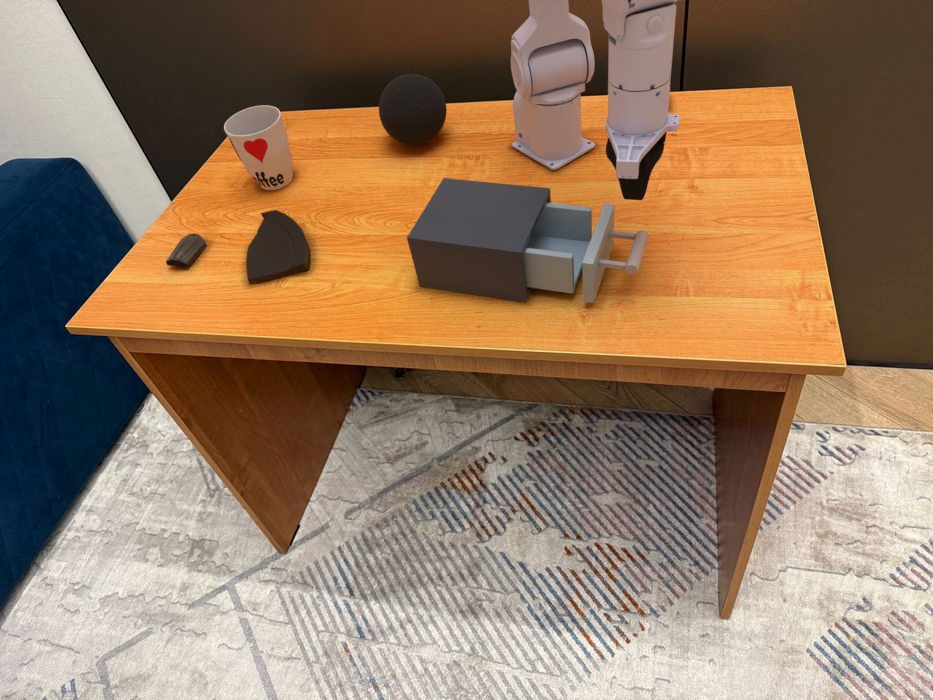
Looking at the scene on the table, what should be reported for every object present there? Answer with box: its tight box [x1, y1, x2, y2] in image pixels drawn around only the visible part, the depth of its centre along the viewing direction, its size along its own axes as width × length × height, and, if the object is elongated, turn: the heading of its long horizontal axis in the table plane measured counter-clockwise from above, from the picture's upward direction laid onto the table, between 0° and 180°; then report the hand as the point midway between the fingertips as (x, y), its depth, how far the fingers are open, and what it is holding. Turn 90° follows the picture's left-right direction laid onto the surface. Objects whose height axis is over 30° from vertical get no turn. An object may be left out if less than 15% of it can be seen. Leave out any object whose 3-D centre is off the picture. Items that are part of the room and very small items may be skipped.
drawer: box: [523, 202, 649, 304], centre depth 79 cm, size 17×10×6 cm, turn 70°
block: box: [165, 233, 207, 268], centre depth 95 cm, size 4×6×2 cm, turn 171°
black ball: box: [378, 73, 448, 146], centre depth 103 cm, size 10×10×10 cm
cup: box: [223, 104, 294, 191], centre depth 101 cm, size 8×8×10 cm
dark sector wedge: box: [245, 209, 312, 284], centre depth 93 cm, size 8×14×2 cm, turn 9°
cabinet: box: [406, 177, 552, 303], centre depth 83 cm, size 14×12×8 cm
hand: (633, 195), depth 75 cm, fingers closed
